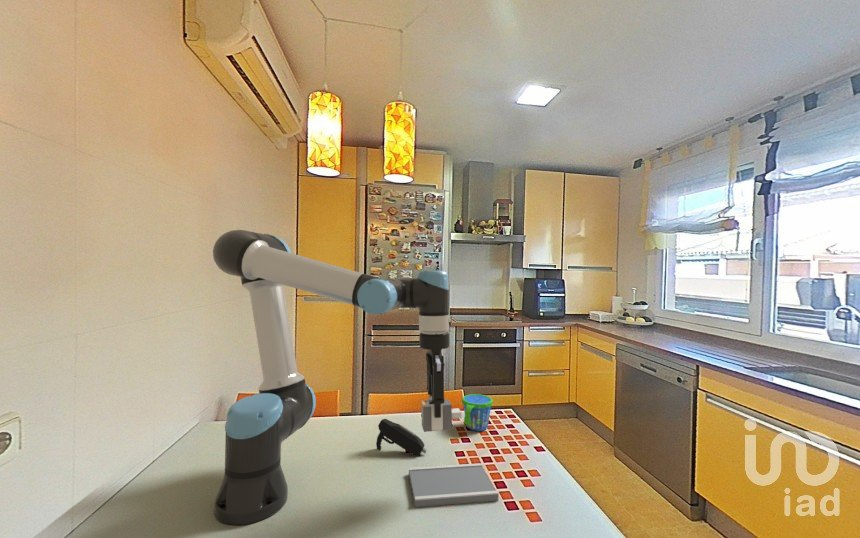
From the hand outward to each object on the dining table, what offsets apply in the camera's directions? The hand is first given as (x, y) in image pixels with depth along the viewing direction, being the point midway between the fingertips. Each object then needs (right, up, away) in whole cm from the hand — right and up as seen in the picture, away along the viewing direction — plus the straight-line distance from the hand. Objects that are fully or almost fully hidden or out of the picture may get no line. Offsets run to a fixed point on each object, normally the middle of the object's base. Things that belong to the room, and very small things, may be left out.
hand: (435, 425), depth 92 cm
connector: (+2, 0, 0) cm, 2 cm away
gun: (-10, -16, +19) cm, 27 cm away
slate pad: (+4, -16, +1) cm, 17 cm away
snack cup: (+15, -17, +38) cm, 45 cm away
